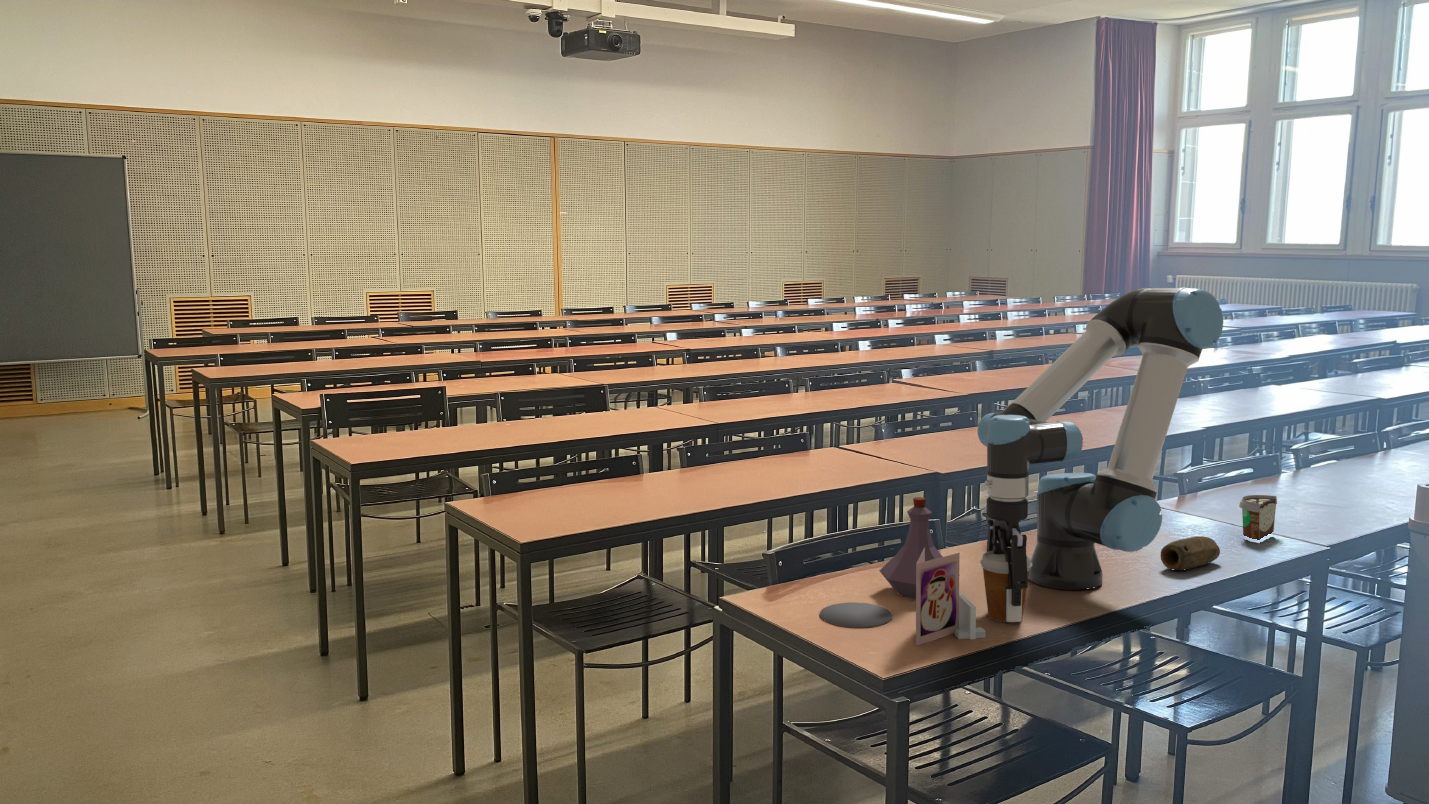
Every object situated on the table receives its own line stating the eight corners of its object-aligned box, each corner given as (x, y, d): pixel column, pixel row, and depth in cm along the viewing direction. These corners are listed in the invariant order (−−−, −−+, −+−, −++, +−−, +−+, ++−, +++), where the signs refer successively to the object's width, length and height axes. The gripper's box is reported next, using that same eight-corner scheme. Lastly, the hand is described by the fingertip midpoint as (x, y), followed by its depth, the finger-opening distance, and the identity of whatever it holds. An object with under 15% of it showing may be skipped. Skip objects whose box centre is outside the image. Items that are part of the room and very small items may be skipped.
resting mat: (882, 602, 201) (882, 600, 201) (900, 626, 188) (900, 624, 188) (813, 605, 200) (813, 604, 200) (827, 629, 187) (827, 628, 186)
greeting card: (919, 647, 177) (920, 565, 175) (889, 635, 183) (889, 556, 181) (962, 632, 183) (963, 553, 182) (931, 622, 189) (932, 545, 188)
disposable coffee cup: (970, 617, 191) (970, 557, 190) (995, 605, 198) (996, 547, 196) (1015, 629, 184) (1016, 566, 183) (1040, 616, 191) (1041, 555, 190)
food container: (1248, 531, 250) (1250, 492, 249) (1275, 535, 246) (1277, 495, 245) (1229, 540, 242) (1231, 500, 241) (1256, 545, 237) (1258, 504, 236)
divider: (956, 608, 197) (956, 578, 196) (986, 638, 180) (986, 606, 179) (931, 609, 197) (931, 579, 196) (959, 639, 180) (959, 607, 179)
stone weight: (1188, 577, 214) (1189, 547, 213) (1157, 570, 220) (1158, 540, 219) (1222, 564, 223) (1223, 535, 222) (1191, 557, 229) (1192, 529, 228)
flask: (862, 589, 210) (862, 496, 208) (921, 576, 218) (922, 487, 216) (915, 610, 196) (916, 511, 194) (976, 596, 204) (977, 500, 202)
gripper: (969, 486, 198) (968, 597, 201) (1008, 510, 178) (1006, 633, 180) (1006, 485, 199) (1004, 595, 202) (1049, 508, 178) (1046, 631, 181)
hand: (1005, 613), depth 191 cm, fingers closed on disposable coffee cup, 8 cm apart
